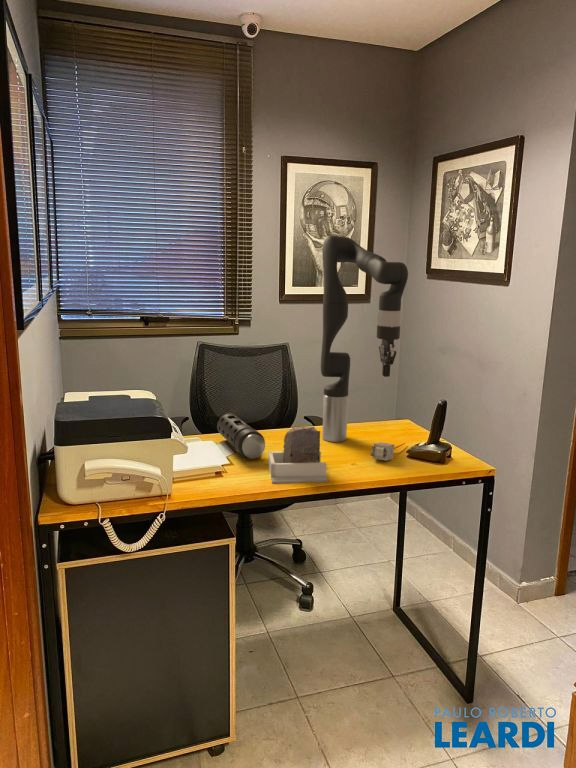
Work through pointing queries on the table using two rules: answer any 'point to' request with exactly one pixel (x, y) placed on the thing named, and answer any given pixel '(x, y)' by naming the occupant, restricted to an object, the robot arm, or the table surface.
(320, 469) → the open rectangular box
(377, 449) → the electrical component
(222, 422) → the muzzle brake
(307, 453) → the geological specimen
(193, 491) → the table surface
